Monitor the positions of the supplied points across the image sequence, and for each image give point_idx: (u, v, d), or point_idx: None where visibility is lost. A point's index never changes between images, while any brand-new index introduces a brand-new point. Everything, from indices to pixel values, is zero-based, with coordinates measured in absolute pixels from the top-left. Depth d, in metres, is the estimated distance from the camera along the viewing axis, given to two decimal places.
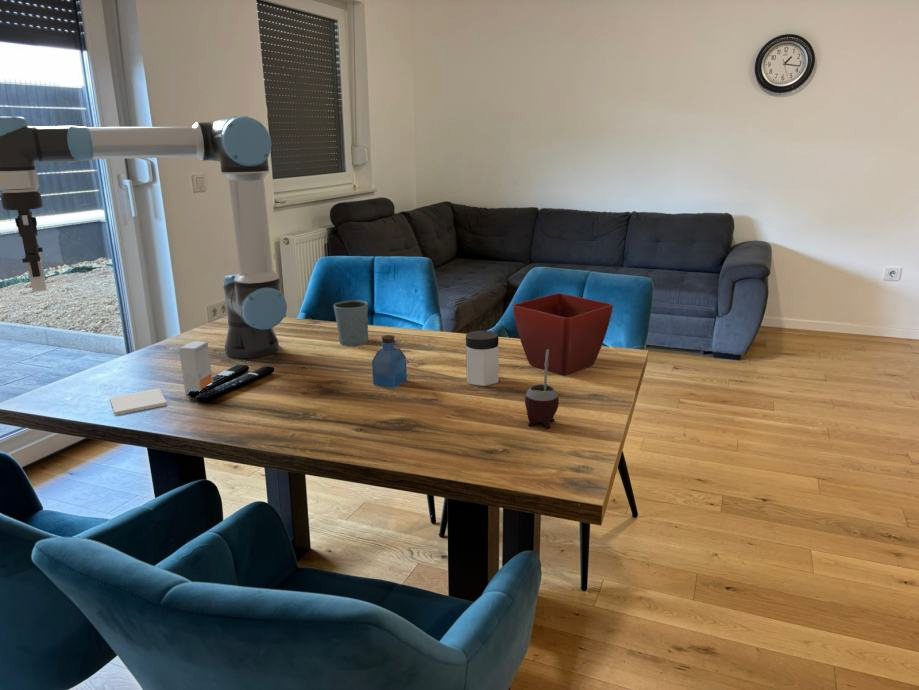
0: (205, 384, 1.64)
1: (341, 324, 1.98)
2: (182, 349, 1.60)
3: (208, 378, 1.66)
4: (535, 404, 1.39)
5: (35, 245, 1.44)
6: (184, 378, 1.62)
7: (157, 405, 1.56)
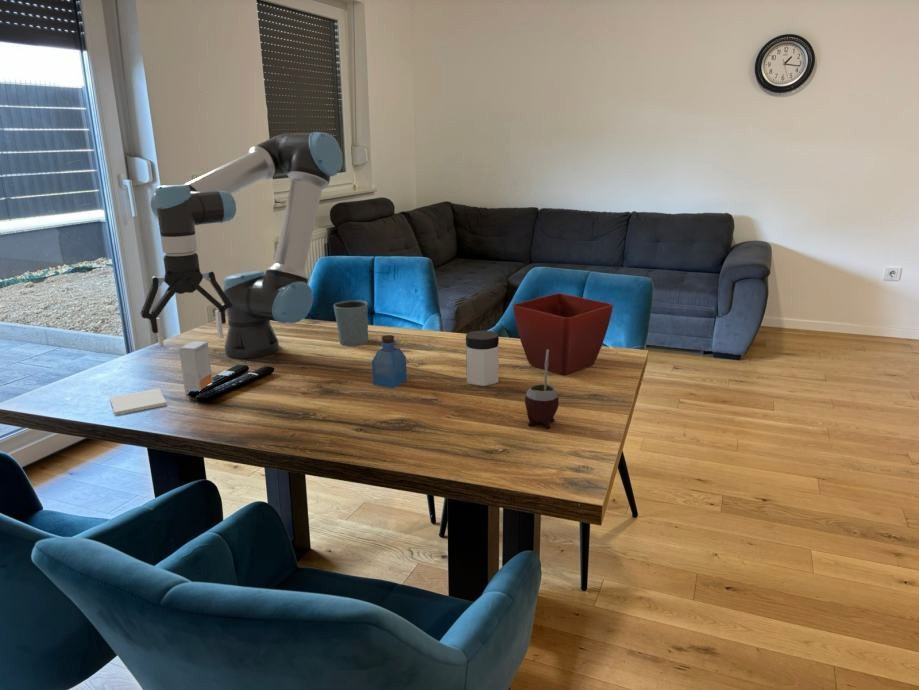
0: (205, 384, 1.64)
1: (341, 324, 1.98)
2: (182, 349, 1.60)
3: (208, 378, 1.66)
4: (535, 404, 1.39)
5: (145, 305, 1.53)
6: (184, 378, 1.62)
7: (157, 405, 1.56)
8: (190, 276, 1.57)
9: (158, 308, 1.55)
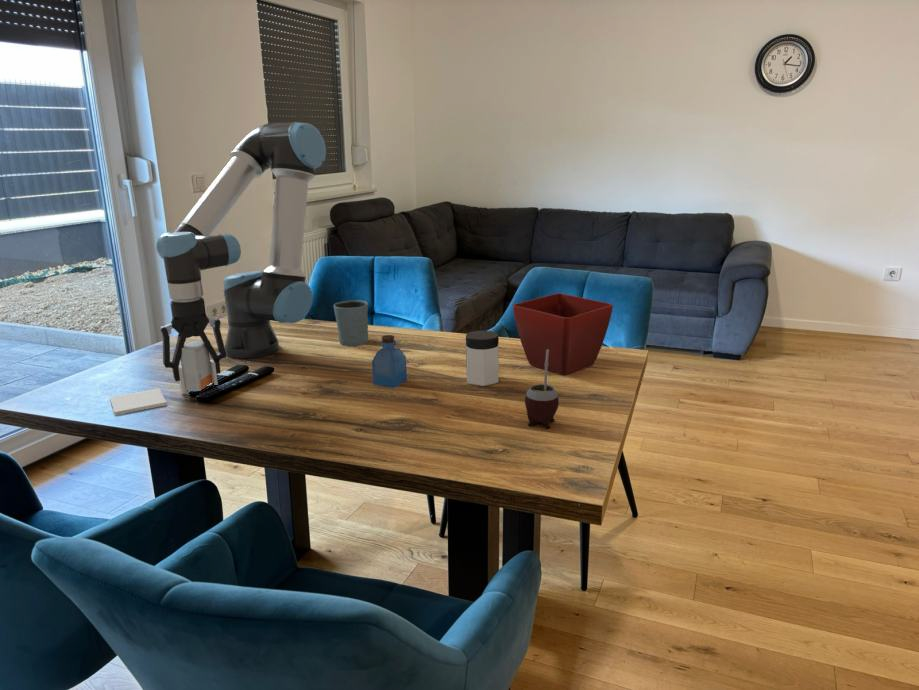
0: (205, 384, 1.64)
1: (341, 324, 1.98)
2: (182, 349, 1.60)
3: (208, 378, 1.66)
4: (535, 404, 1.39)
5: (164, 355, 1.58)
6: (184, 378, 1.62)
7: (157, 405, 1.56)
8: (198, 320, 1.60)
9: (176, 357, 1.60)
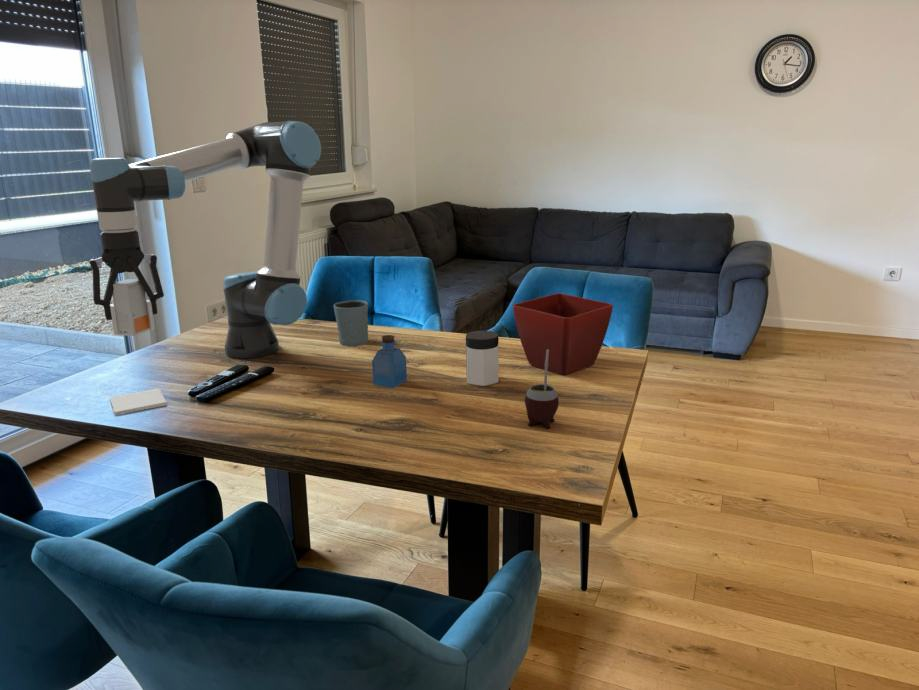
0: (140, 325, 1.53)
1: (341, 324, 1.98)
2: (114, 285, 1.49)
3: (144, 319, 1.54)
4: (535, 404, 1.39)
5: (93, 291, 1.47)
6: (117, 317, 1.51)
7: (157, 405, 1.56)
8: (132, 255, 1.49)
9: (108, 293, 1.49)
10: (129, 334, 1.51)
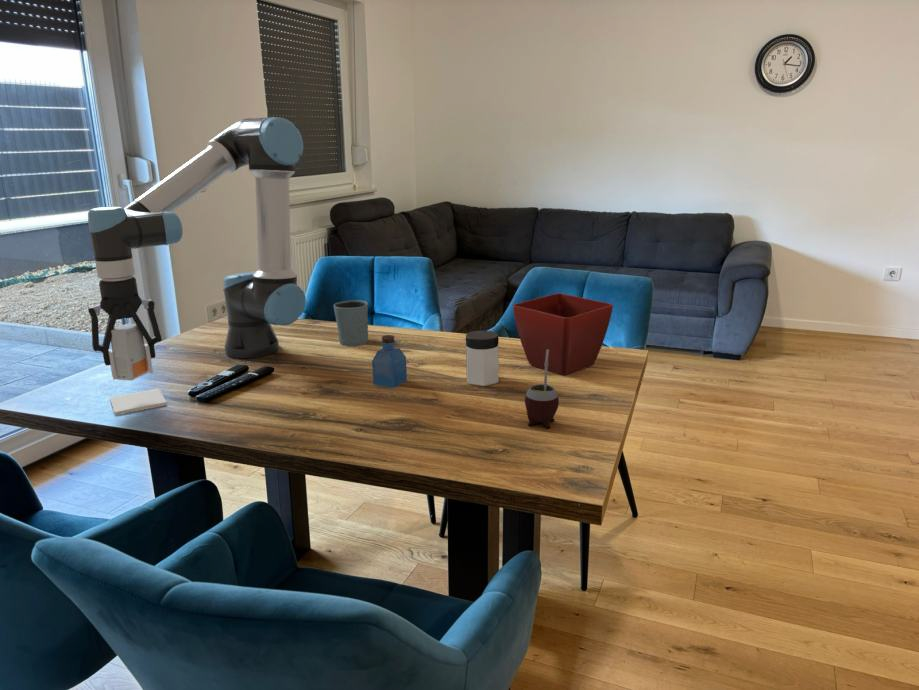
0: (138, 369, 1.55)
1: (341, 324, 1.98)
2: (112, 331, 1.51)
3: (142, 363, 1.57)
4: (535, 404, 1.39)
5: (92, 338, 1.49)
6: (115, 362, 1.53)
7: (157, 405, 1.56)
8: (129, 301, 1.52)
9: (106, 339, 1.51)
10: (127, 379, 1.54)
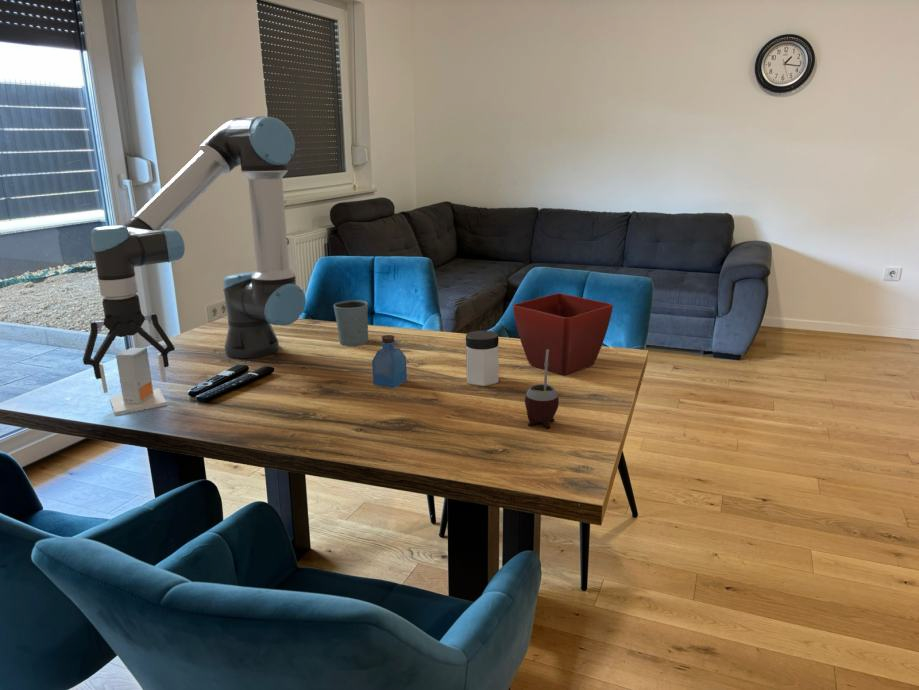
0: (145, 392, 1.58)
1: (341, 324, 1.98)
2: (119, 356, 1.53)
3: (148, 386, 1.59)
4: (535, 404, 1.39)
5: (86, 351, 1.49)
6: (122, 386, 1.55)
7: (157, 405, 1.56)
8: (131, 319, 1.53)
9: (100, 354, 1.51)
10: (135, 402, 1.56)
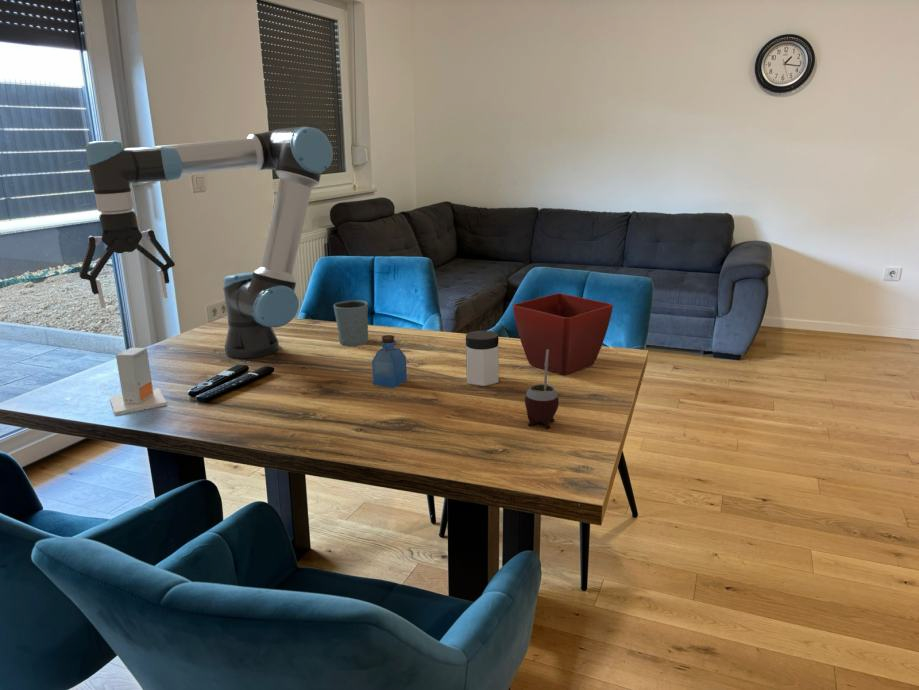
0: (145, 392, 1.58)
1: (341, 324, 1.98)
2: (119, 356, 1.53)
3: (148, 386, 1.59)
4: (535, 404, 1.39)
5: (83, 265, 1.51)
6: (122, 386, 1.55)
7: (157, 405, 1.56)
8: (128, 235, 1.54)
9: (97, 268, 1.52)
10: (135, 402, 1.56)
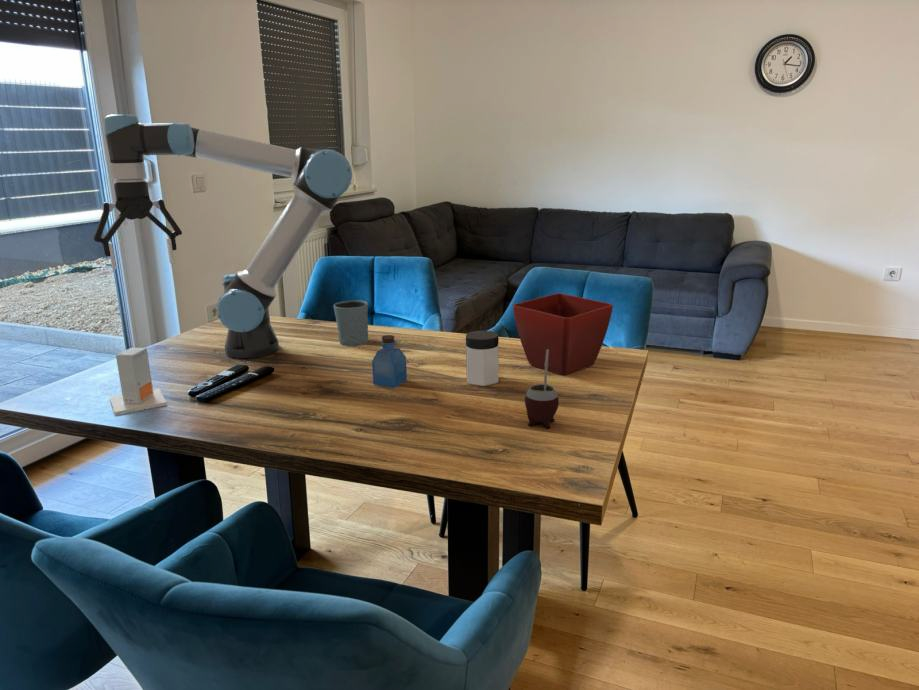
0: (145, 392, 1.58)
1: (341, 324, 1.98)
2: (119, 356, 1.53)
3: (148, 386, 1.59)
4: (535, 404, 1.39)
5: (97, 229, 1.63)
6: (122, 386, 1.55)
7: (157, 405, 1.56)
8: (140, 203, 1.67)
9: (110, 232, 1.65)
10: (135, 402, 1.56)
